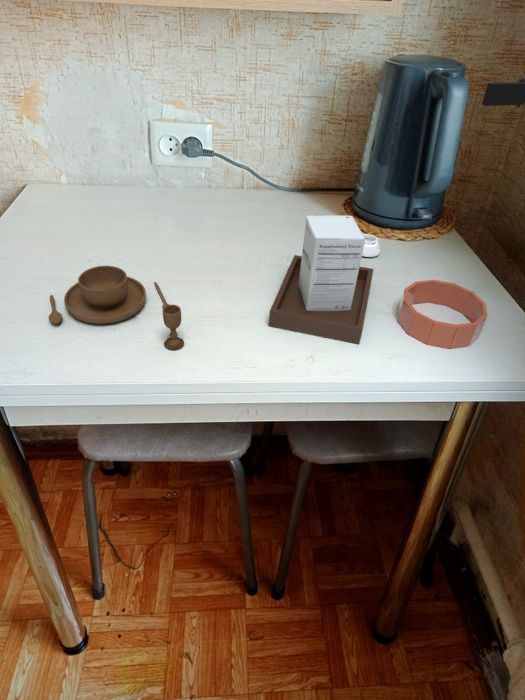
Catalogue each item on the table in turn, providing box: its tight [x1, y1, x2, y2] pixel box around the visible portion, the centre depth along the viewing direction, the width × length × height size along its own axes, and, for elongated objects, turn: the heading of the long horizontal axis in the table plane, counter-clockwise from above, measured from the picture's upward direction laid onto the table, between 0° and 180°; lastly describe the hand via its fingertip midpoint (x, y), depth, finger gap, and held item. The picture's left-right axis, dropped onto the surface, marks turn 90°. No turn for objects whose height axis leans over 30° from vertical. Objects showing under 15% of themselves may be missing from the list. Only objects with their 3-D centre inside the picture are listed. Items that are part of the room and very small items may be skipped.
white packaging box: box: [298, 215, 365, 311], centre depth 77 cm, size 7×7×13 cm
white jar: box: [362, 233, 381, 258], centre depth 94 cm, size 5×3×5 cm
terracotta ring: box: [397, 279, 488, 350], centre depth 78 cm, size 12×12×4 cm
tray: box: [268, 254, 374, 345], centre depth 81 cm, size 18×14×3 cm
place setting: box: [48, 265, 185, 351], centre depth 73 cm, size 18×20×6 cm
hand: (519, 108), depth 64 cm, fingers open, 13 cm apart
